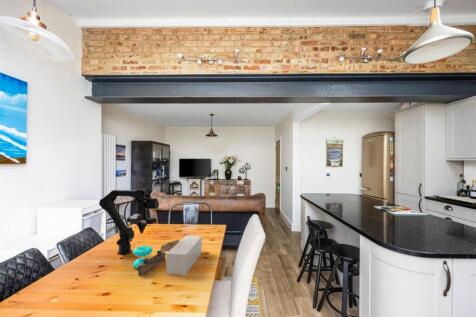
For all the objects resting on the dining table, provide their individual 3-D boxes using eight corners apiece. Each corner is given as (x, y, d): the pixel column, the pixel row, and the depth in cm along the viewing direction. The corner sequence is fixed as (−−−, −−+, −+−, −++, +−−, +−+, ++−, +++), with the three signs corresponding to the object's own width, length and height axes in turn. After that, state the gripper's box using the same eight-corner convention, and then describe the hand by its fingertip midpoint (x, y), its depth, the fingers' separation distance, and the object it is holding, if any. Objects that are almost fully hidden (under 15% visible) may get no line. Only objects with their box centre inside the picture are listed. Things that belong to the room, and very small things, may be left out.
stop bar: (138, 275, 126) (138, 261, 126) (160, 260, 145) (161, 248, 146) (142, 275, 125) (143, 262, 126) (165, 261, 145) (165, 249, 145)
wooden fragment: (168, 253, 158) (168, 251, 158) (153, 251, 161) (153, 249, 161) (186, 241, 183) (186, 239, 183) (172, 239, 186) (172, 238, 186)
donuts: (151, 244, 144) (153, 249, 135) (151, 261, 144) (152, 268, 135) (133, 246, 140) (133, 252, 131) (133, 264, 140) (133, 271, 131)
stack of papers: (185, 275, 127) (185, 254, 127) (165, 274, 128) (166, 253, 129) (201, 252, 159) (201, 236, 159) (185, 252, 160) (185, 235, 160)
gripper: (120, 210, 151) (120, 235, 151) (145, 212, 145) (145, 238, 145) (133, 207, 162) (132, 230, 161) (157, 208, 156) (157, 233, 156)
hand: (141, 233), depth 155 cm, fingers closed
